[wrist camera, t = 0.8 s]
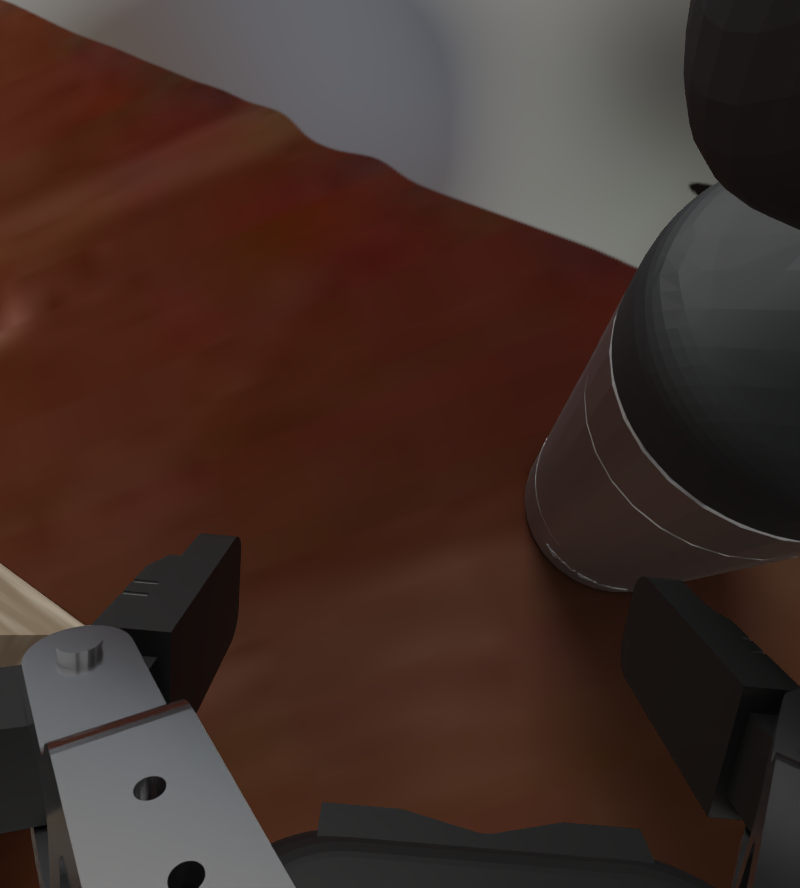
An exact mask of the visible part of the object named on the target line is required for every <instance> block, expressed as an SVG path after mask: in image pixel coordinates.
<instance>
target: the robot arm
mask: <svg viewBox="0 0 800 888" xmlns="http://www.w3.org/2000/svg"><path fill="white" fill-rule="evenodd" d="M684 84H685V95H686V102H687V108H688V116H689V123H690V127H691V131H692V135H693V139H694V141H695V143H696V145H697V147H698V149H699V150H700V152H701V154H702V156H703V158H704V159H705V161H706V163H707V164H708V166H709V168H710V170H711V171H712V173H713V175H714V177H715V178H716V179H717V180H718V181H719V182H718V183H716V184H714V185H713V186H711V187H709V188H708V189H706V190H705V191H704V192H702V193H701V194H700V195H698V196H697V197H696V198H694V199H693V200H692V201H691V202H690V203H689V204H687V205H686V206H685V207H684V208H683V209H682V210H681V211H680V212H679V213H677V215H676V216H675V217H674V218H673V219H672V220H671V221H670V222H669V224H668V225H667V226H666V227H665V228H664V229H663V230H662V232H661V233H660V235H659V236H658V237H657V239H656V240H655V242H654V243H653V245H652V246H651V248H650V249H649V251H648V252H647V254H646V255H645V257H644V259H643V260H642V262H641V264H640V266H639V268H638V270H637V272H636V273H635V275H634V277H633V279H632V281H631V283H630V285H629V286H628V288H627V290H626V292H625V294H624V296H623V298H622V300H621V301H620V303H619V305H618V307H617V309H616V311H615V313H614V314H613V316H612V318H611V320H610V322H609V324H608V326H607V328H606V329H605V331H604V333H603V335H602V337H601V339H600V341H599V343H598V345H597V347H596V349H595V351H594V353H593V355H592V356H591V358H590V360H589V362H588V364H587V366H586V368H585V369H584V371H583V373H582V375H581V377H580V379H579V381H578V382H577V384H576V386H575V388H574V390H573V392H572V394H571V395H570V397H569V399H568V401H567V403H566V405H565V407H564V408H563V410H562V412H561V414H560V416H559V418H558V420H557V421H556V423H555V425H554V427H553V429H552V431H551V433H550V434H549V436H548V438H547V439H546V441H545V443H544V445H543V447H542V449H541V451H540V453H539V454H538V456H537V458H536V460H535V462H534V464H533V466H532V468H531V470H530V473H529V477H528V480H527V483H526V490H525V509H526V516H527V521H528V524H529V527H530V530H531V532H532V535H533V538H534V539H535V541H536V543H537V544H538V546H539V547H540V549H541V551H542V552H543V554H544V555H545V556H546V557H547V558H548V559H549V560H550V561H551V562H552V563H553V564H554V566H555V567H556V568H558V569H559V570H560V571H562V572H563V573H565V574H566V575H567V576H569V577H570V578H571V579H573V580H575V581H577V582H580V583H582V584H584V585H586V586H588V587H591V588H595V589H599V590H604V591H608V592H633V594H632V599H631V603H630V608H629V613H628V617H627V622H626V626H625V631H624V636H623V640H622V645H621V666H622V671H623V674H624V677H625V679H626V681H627V682H628V684H629V686H630V687H631V689H632V691H633V692H634V694H635V696H636V697H637V699H638V701H639V702H640V704H641V706H642V707H643V709H644V711H645V713H646V714H647V716H648V718H649V719H650V721H651V723H652V724H653V726H654V728H655V729H656V731H657V733H658V734H659V736H660V738H661V739H662V741H663V743H664V744H665V746H666V748H667V749H668V751H669V753H670V754H671V756H672V758H673V759H674V761H675V763H676V764H677V766H678V768H679V769H680V771H681V773H682V774H683V776H684V778H685V779H686V781H687V783H688V785H689V786H690V788H691V790H692V791H693V793H694V795H695V796H696V798H697V800H698V801H699V803H700V805H701V806H702V808H703V810H704V811H705V813H706V815H707V816H708V817H713V818H725V819H736V820H743V821H744V823H745V824H746V825H745V828H744V831H743V835H742V838H741V842H740V845H739V849H738V854H737V858H736V863H735V867H734V872H733V876H732V881H731V886H730V888H800V686H799V685H797V684H796V683H795V682H794V681H793V680H792V679H791V678H790V677H789V676H788V675H787V674H786V673H785V672H784V671H783V670H782V669H781V668H780V667H779V666H778V665H777V664H776V663H775V662H774V661H773V660H772V659H771V658H770V657H768V656H767V655H765V654H763V651H762V650H761V649H760V648H759V647H758V646H757V645H756V644H755V643H754V642H753V641H749V637H748V636H747V635H746V634H745V633H744V632H743V631H742V630H741V629H739V628H738V627H737V626H736V625H735V624H734V623H733V622H732V621H731V620H729V619H727V618H726V617H724V616H722V615H721V614H719V613H717V612H716V611H714V610H712V609H711V608H709V607H708V606H707V605H706V604H705V603H704V602H703V601H702V600H701V599H700V598H699V597H698V596H697V595H696V594H695V593H694V592H693V591H692V590H691V589H690V588H689V587H688V586H687V585H686V584H685V583H684V581H689V580H694V579H698V578H703V577H708V576H712V575H717V574H722V573H726V572H731V571H735V570H740V569H745V568H749V567H754V566H759V565H763V564H768V563H773V562H777V561H782V560H786V559H791V558H796V557H799V556H800V0H691V1H690V8H689V14H688V21H687V27H686V40H685V57H684ZM240 562H241V542H240V538H239V537H235V536H225V535H214V534H204V533H201V534H199V535H198V537H197V538H196V539H195V540H194V541H193V542H192V544H191V545H190V546H189V547H188V548H187V549H186V551H185V552H184V553H183V554H182V555H181V556H177V555H168V556H166V557H164V558H162V559H160V560H158V561H156V562H154V563H151V564H149V565H147V567H146V568H145V569H144V570H143V571H142V572H141V573H140V574H139V575H138V576H137V577H136V578H135V580H134V582H131V583H130V584H129V586H128V587H127V588H126V589H125V590H124V592H123V594H120V595H119V596H118V597H117V598H116V599H115V600H114V601H113V602H112V604H111V605H110V606H109V607H108V608H107V609H106V610H105V611H104V612H103V613H102V614H101V615H100V616H99V617H98V618H97V619H96V620H95V622H94V623H93V624H92V625H87V626H79V627H73V628H69V629H65V630H61V631H59V632H56V633H53V634H51V635H49V636H46V637H44V638H43V639H41V640H39V641H38V642H36V643H35V644H34V645H32V646H31V647H30V648H29V649H28V650H27V651H26V653H25V654H24V656H23V658H22V664H21V665H16V666H9V667H0V834H1V833H7V832H12V831H17V830H23V829H28V828H30V829H31V839H32V844H33V850H34V856H35V862H36V867H37V873H38V879H39V885H40V888H714V887H712V886H711V885H709V884H707V883H706V882H704V881H702V880H700V879H698V878H696V877H695V876H693V875H691V874H689V873H687V872H685V871H683V870H680V869H678V868H676V867H673V866H671V865H668V864H666V863H663V862H661V861H657V860H654V859H653V857H652V855H651V852H650V850H649V848H648V846H647V844H646V841H645V839H644V837H643V835H642V833H641V830H640V829H633V828H621V827H609V826H597V825H585V824H573V823H557V824H551V825H545V826H538V827H532V828H526V829H520V830H513V831H507V832H501V833H495V834H482V833H477V832H474V831H471V830H467V829H464V828H461V827H458V826H454V825H451V824H448V823H445V822H442V821H438V820H435V819H432V818H429V817H425V816H422V815H419V814H416V813H412V812H409V811H406V810H403V809H395V808H384V807H372V806H360V805H348V804H336V803H324V802H322V807H321V813H320V820H319V826H318V830H315V831H310V832H304V833H300V834H297V835H293V836H290V837H286V838H283V839H281V840H278V841H276V842H273V843H271V844H270V842H269V840H268V839H267V837H266V835H265V833H264V832H263V830H262V828H261V826H260V825H259V823H258V821H257V820H256V818H255V816H254V814H253V813H252V811H251V809H250V807H249V806H248V804H247V802H246V800H245V799H244V797H243V795H242V793H241V792H240V790H239V788H238V786H237V785H236V783H235V781H234V779H233V778H232V776H231V774H230V773H229V771H228V769H227V767H226V766H225V764H224V762H223V760H222V759H221V757H220V755H219V753H218V752H217V750H216V748H215V746H214V745H213V743H212V741H211V739H210V738H209V736H208V734H207V732H206V731H205V729H204V727H203V725H202V724H201V722H200V720H199V719H198V717H197V715H196V713H197V711H198V709H199V707H200V705H201V703H202V701H203V699H204V697H205V695H206V693H207V691H208V689H209V687H210V685H211V683H212V681H213V678H214V676H215V674H216V672H217V670H218V668H219V666H220V664H221V662H222V660H223V658H224V656H225V654H226V652H227V650H228V648H229V646H230V644H231V642H232V639H233V636H234V633H235V629H236V624H237V618H238V608H239V585H240Z"/></svg>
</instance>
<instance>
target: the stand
mask: <svg viewBox="0 0 800 888" xmlns="http://www.w3.org/2000/svg"><path fill="white" fill-rule="evenodd" d="M79 626H84V625H83V624H82V623H80V622H79V621H78V620H76V619H75V618H73V617H72V616H71V615H69V614H68V613H67V612H65V611H64V610H63V609H61V608H60V607H59V606H57V605H56V604H55V603H53V602H52V601H50V600H49V599H48V598H46V597H45V596H44V595H42V594H41V593H40V592H38V591H37V590H36V589H34V588H33V587H32V586H30V585H29V584H27V583H26V582H25V581H23V580H22V579H21V578H19V577H18V576H17V575H15V574H14V573H13V572H11V571H10V570H9V569H7V568H6V567H4V566H3V565H2V564H0V667H9V666H16V665H21V664H22V658H23V656H24V654H25V653H26V651H27V650H28V649H29V648H30V647H31V646H32V645H34V644H35V643H36V642H38V641H39V640H41V639H43V638H44V637H46V636H49V635H51V634H53V633H56V632H59V631H61V630H65V629H69V628H73V627H79Z"/></svg>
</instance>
